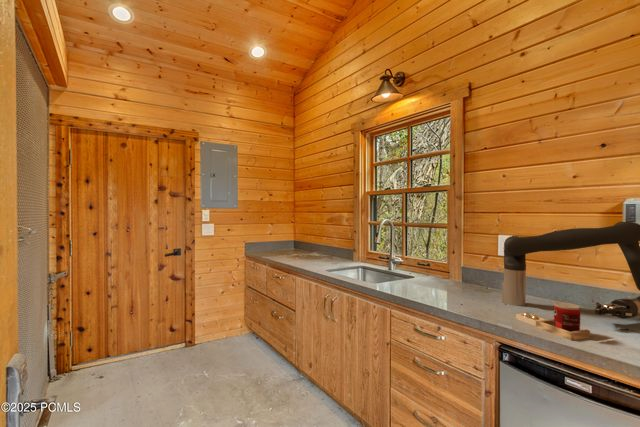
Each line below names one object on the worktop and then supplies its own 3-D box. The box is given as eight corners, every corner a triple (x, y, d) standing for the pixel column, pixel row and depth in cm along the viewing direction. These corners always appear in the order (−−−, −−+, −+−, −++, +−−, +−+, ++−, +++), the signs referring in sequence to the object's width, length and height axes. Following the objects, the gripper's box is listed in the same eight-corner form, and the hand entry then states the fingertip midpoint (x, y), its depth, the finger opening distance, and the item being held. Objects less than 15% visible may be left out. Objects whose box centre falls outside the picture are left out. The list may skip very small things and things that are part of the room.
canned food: (562, 329, 128) (563, 301, 128) (585, 337, 121) (585, 306, 121) (548, 332, 126) (549, 303, 126) (570, 339, 118) (571, 309, 118)
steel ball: (520, 319, 139) (520, 311, 138) (526, 318, 139) (526, 311, 139) (527, 321, 136) (527, 314, 136) (532, 320, 137) (532, 313, 137)
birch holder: (536, 328, 129) (536, 321, 129) (553, 326, 132) (553, 318, 132) (571, 342, 116) (571, 333, 116) (589, 339, 119) (590, 330, 119)
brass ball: (528, 322, 135) (529, 314, 135) (534, 321, 136) (534, 313, 136) (535, 324, 132) (535, 316, 132) (541, 323, 133) (541, 316, 133)
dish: (516, 319, 139) (516, 314, 139) (526, 318, 141) (526, 313, 141) (535, 327, 131) (535, 321, 131) (546, 325, 132) (546, 319, 132)
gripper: (609, 294, 141) (579, 297, 135) (648, 303, 128) (616, 307, 123) (609, 312, 141) (579, 316, 136) (647, 322, 128) (616, 327, 123)
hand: (597, 311), depth 129 cm, fingers closed
